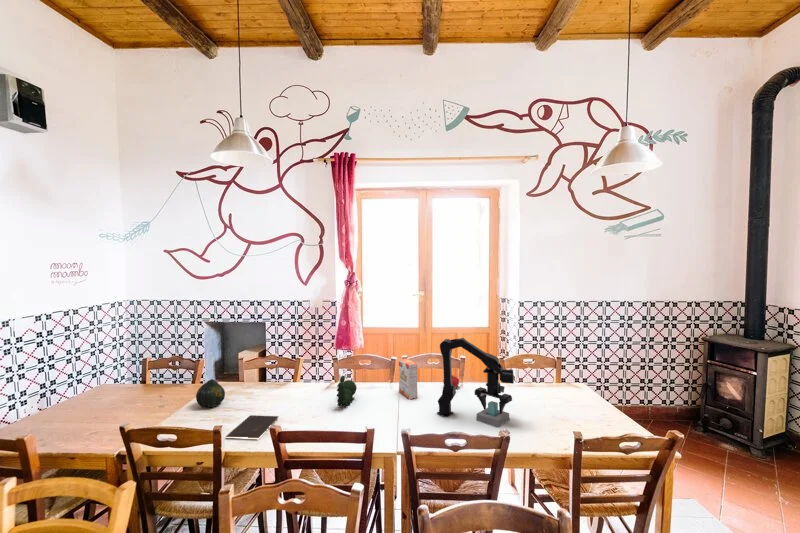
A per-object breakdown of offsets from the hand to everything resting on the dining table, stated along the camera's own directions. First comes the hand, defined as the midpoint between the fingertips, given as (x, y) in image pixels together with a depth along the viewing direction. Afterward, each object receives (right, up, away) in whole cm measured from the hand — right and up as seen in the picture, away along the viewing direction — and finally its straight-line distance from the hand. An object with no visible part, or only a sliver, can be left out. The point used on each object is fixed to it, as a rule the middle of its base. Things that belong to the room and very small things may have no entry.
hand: (492, 411), depth 203 cm
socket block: (0, -5, 0) cm, 4 cm away
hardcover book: (-120, -6, -8) cm, 120 cm away
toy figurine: (-79, -4, +26) cm, 83 cm away
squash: (-156, -5, +23) cm, 157 cm away
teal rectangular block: (0, -4, 0) cm, 4 cm away
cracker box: (-43, -4, +36) cm, 56 cm away
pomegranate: (-15, -3, +50) cm, 52 cm away
